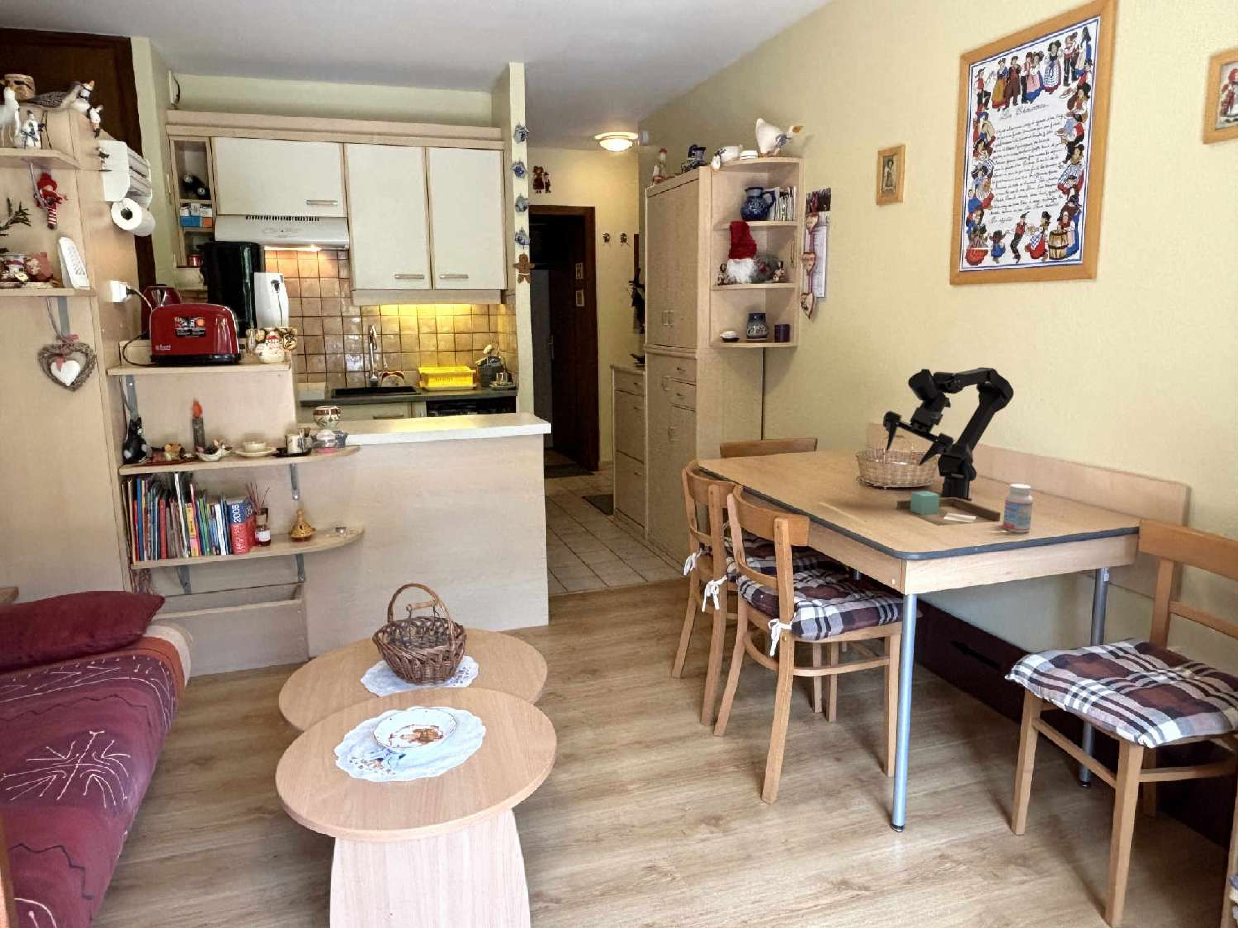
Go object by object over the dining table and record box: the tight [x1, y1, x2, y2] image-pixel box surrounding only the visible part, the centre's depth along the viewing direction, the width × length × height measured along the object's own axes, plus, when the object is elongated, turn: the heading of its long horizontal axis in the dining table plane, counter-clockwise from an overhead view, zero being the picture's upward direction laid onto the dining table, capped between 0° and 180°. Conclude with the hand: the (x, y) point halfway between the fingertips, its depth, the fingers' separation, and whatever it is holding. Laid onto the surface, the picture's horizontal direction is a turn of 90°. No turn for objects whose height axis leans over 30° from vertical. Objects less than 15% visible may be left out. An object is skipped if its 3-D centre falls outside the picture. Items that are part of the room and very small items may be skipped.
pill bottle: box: [1002, 483, 1034, 534], centre depth 203 cm, size 6×6×11 cm
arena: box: [896, 497, 1001, 526], centre depth 216 cm, size 18×18×3 cm
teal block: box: [910, 490, 940, 515], centre depth 219 cm, size 5×5×5 cm
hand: (902, 457), depth 221 cm, fingers open, 9 cm apart
